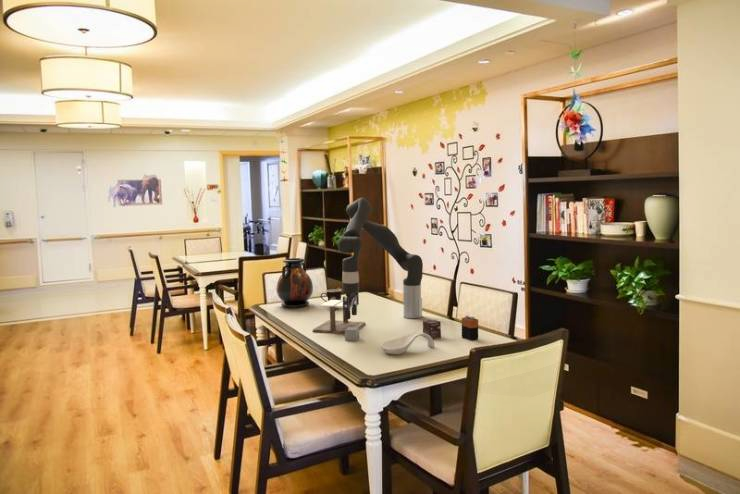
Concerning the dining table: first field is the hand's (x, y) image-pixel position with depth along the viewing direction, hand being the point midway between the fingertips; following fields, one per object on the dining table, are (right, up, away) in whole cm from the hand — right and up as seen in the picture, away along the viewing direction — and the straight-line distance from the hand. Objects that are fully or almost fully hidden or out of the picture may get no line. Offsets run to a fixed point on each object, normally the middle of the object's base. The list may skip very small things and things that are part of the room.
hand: (351, 316), depth 247 cm
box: (+36, -10, +2) cm, 38 cm away
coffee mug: (-13, -4, +72) cm, 74 cm away
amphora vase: (-36, -4, +79) cm, 87 cm away
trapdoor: (-7, +4, +21) cm, 22 cm away
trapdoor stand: (-6, -8, +22) cm, 24 cm away
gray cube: (0, -10, +1) cm, 10 cm away
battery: (+53, -10, -2) cm, 54 cm away
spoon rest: (+24, -12, -19) cm, 33 cm away
